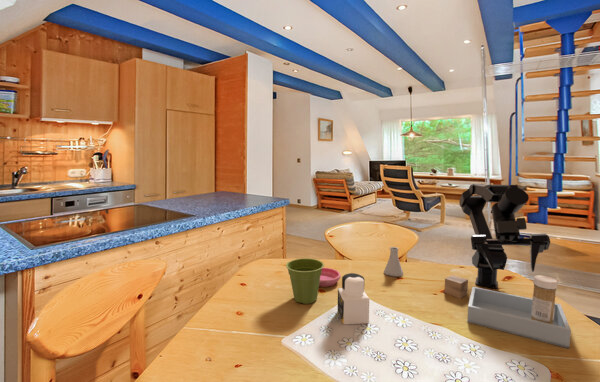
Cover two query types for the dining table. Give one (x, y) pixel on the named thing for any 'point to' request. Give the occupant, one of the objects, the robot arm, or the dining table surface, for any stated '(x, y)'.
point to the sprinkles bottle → (543, 299)
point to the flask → (393, 264)
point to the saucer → (328, 277)
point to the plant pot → (305, 278)
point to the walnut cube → (456, 286)
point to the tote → (516, 317)
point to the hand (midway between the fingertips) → (512, 270)
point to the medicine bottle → (353, 300)
